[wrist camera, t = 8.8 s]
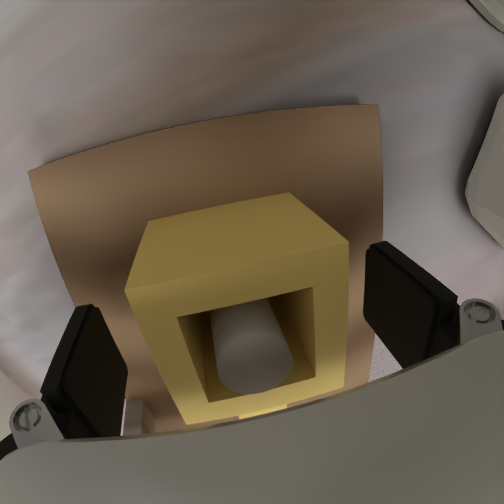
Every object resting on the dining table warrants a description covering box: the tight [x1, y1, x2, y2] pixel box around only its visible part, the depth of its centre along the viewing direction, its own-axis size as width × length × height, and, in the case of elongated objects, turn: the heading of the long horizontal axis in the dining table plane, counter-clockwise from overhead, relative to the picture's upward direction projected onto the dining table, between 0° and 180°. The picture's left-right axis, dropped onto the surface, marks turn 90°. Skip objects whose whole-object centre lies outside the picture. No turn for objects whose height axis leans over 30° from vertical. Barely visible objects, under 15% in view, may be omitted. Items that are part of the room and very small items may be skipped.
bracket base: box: [28, 104, 383, 436], centre depth 13 cm, size 22×14×7 cm, turn 8°
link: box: [124, 193, 349, 425], centre depth 13 cm, size 16×5×5 cm, turn 8°
